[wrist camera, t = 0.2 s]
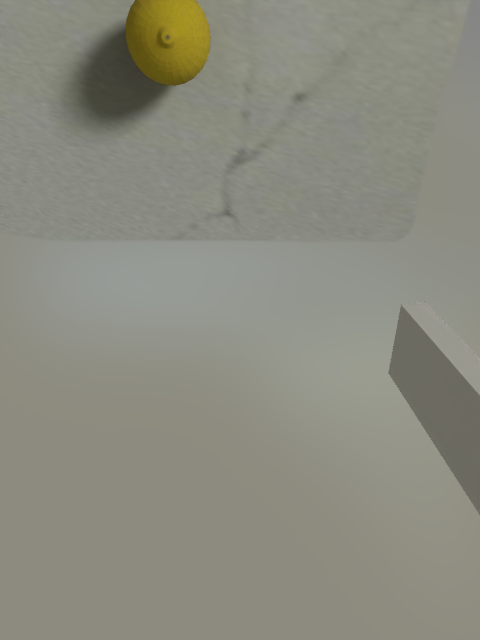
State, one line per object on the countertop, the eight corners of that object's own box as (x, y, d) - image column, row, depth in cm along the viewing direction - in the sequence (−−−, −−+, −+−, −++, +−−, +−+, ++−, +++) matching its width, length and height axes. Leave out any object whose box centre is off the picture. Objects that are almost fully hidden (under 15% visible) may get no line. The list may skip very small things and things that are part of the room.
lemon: (148, 91, 34) (141, 102, 27) (119, 6, 31) (102, -6, 24) (216, 69, 33) (225, 74, 27) (193, -19, 30) (197, -38, 24)
